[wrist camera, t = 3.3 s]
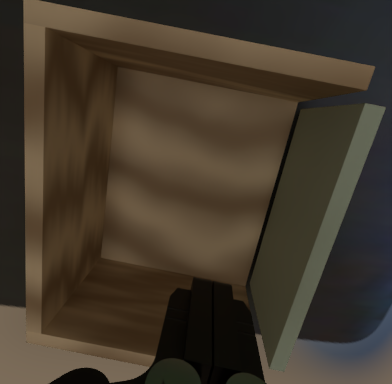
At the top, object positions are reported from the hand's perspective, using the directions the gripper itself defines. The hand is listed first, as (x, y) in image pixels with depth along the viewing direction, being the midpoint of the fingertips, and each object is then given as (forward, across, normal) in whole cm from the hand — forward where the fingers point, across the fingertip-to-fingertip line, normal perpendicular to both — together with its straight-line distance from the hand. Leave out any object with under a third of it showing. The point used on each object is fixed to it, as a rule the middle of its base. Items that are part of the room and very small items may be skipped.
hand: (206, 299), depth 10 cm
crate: (+16, +2, 0) cm, 16 cm away
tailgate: (+14, -6, 0) cm, 15 cm away
